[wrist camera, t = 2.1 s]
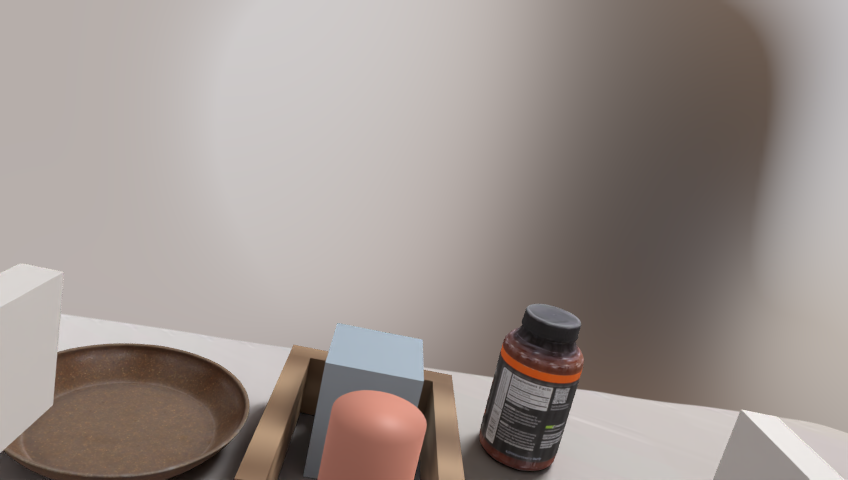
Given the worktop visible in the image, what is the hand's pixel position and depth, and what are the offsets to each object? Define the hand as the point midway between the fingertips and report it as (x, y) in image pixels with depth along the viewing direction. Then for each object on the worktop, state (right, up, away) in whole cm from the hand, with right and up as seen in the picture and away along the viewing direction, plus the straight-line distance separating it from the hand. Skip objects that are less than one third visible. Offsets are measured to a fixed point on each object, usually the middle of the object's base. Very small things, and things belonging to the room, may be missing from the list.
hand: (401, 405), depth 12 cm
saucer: (-19, -9, +27) cm, 34 cm away
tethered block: (-4, -13, +23) cm, 27 cm away
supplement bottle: (+7, -13, +35) cm, 38 cm away
